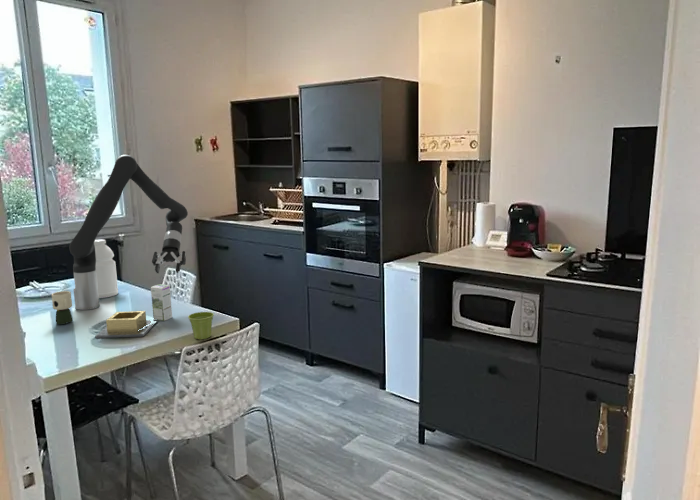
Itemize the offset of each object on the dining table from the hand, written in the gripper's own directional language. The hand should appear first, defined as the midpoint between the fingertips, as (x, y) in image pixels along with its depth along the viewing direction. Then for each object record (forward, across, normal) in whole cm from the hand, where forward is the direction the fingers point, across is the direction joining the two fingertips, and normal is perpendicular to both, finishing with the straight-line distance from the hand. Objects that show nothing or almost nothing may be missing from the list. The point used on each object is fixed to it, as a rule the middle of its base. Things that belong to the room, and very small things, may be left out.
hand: (167, 272), depth 236 cm
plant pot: (+39, +22, -14) cm, 47 cm away
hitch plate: (+31, -10, -5) cm, 33 cm away
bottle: (-11, -42, +37) cm, 57 cm away
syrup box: (+21, 0, +5) cm, 21 cm away
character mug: (+22, -40, +3) cm, 46 cm away
